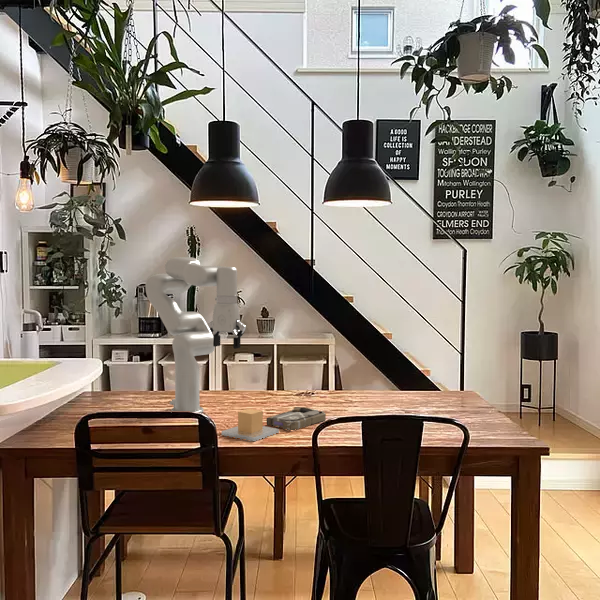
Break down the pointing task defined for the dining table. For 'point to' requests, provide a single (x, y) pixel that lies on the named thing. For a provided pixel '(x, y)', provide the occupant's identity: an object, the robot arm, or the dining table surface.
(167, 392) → the dining table surface
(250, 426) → the wooden toy block
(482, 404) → the dining table surface
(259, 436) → the plate
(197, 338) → the robot arm
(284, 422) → the grey flat case
